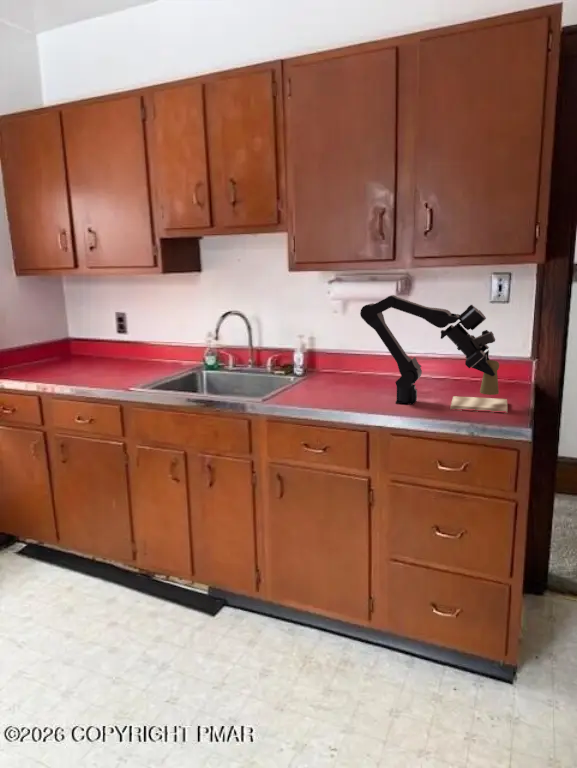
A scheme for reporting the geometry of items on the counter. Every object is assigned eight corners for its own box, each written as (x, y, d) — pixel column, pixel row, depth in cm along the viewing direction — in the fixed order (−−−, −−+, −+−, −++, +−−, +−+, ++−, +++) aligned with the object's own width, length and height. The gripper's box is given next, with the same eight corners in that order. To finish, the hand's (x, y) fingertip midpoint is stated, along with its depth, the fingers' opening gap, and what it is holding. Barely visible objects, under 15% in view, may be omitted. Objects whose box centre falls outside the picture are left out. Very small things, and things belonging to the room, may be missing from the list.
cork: (501, 394, 188) (504, 362, 186) (483, 395, 188) (486, 362, 185) (494, 390, 194) (496, 358, 192) (476, 390, 194) (478, 359, 191)
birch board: (450, 409, 192) (450, 405, 192) (453, 400, 204) (453, 396, 204) (507, 413, 186) (507, 408, 186) (506, 403, 198) (507, 399, 198)
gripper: (478, 326, 179) (512, 363, 177) (483, 319, 195) (515, 353, 194) (451, 350, 184) (484, 385, 182) (459, 341, 200) (489, 374, 199)
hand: (494, 373), depth 189 cm, fingers closed on cork, 5 cm apart
